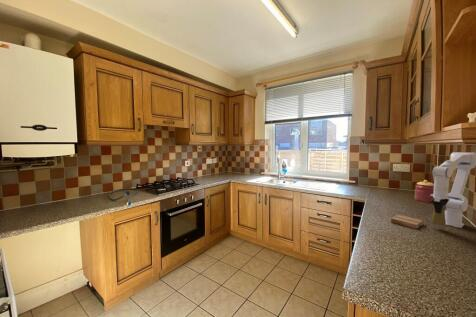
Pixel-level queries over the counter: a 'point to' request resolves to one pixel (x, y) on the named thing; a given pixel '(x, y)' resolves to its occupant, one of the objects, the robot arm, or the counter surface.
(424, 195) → the canister
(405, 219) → the tan flat block
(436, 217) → the olive rounded piece
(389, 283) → the counter surface
